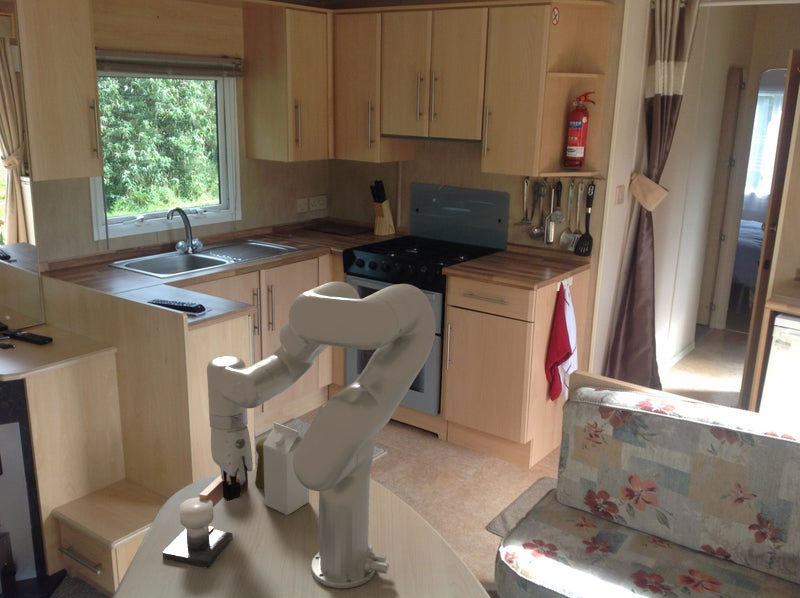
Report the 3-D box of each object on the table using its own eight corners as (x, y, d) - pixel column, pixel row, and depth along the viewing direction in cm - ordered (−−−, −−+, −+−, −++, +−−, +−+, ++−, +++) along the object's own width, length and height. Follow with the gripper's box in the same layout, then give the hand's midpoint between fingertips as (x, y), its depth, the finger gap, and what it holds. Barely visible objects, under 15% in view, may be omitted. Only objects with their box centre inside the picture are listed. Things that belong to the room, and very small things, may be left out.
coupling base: (232, 539, 153) (231, 511, 151) (208, 568, 144) (206, 539, 142) (189, 530, 156) (188, 503, 154) (162, 558, 147) (160, 530, 145)
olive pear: (275, 490, 172) (274, 448, 169) (251, 487, 173) (249, 444, 170) (284, 478, 178) (283, 436, 175) (260, 474, 179) (259, 433, 176)
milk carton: (286, 492, 172) (285, 416, 166) (309, 502, 168) (309, 425, 162) (264, 505, 166) (262, 427, 161) (287, 516, 162) (286, 437, 157)
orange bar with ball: (202, 530, 144) (201, 512, 143) (173, 524, 146) (172, 506, 145) (242, 490, 159) (241, 474, 157) (215, 485, 160) (214, 468, 159)
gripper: (263, 425, 146) (265, 507, 151) (228, 400, 157) (232, 477, 162) (228, 435, 142) (232, 520, 147) (195, 409, 153) (199, 488, 158)
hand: (232, 497), depth 155 cm, fingers closed
